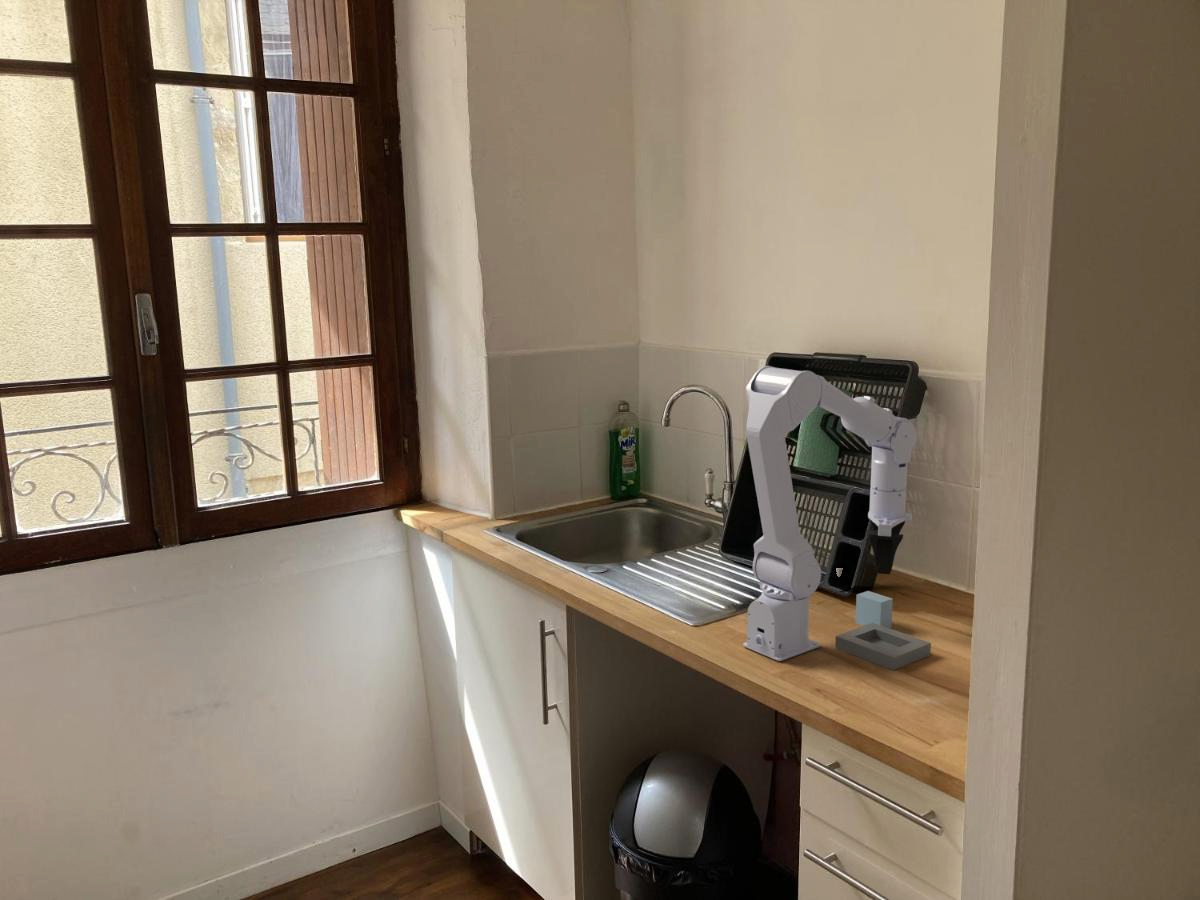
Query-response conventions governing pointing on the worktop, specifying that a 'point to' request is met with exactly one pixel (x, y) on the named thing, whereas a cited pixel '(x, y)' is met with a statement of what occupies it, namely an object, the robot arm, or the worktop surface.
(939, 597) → the worktop surface
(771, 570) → the robot arm
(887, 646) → the grey slotted base
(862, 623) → the block
